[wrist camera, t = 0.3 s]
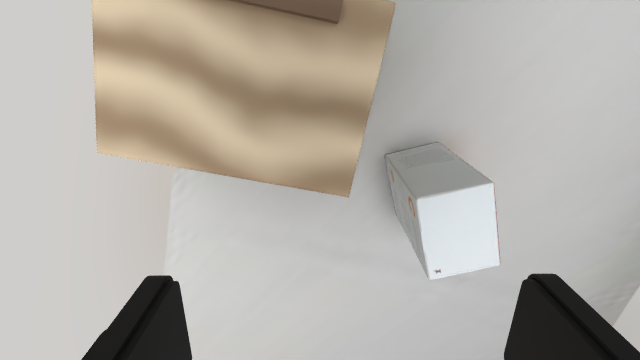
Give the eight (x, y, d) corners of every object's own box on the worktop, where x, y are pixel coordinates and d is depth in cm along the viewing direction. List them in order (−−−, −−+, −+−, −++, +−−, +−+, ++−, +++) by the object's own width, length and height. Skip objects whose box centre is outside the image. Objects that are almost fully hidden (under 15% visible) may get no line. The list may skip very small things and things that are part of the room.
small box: (447, 203, 41) (502, 267, 29) (395, 215, 42) (428, 283, 30) (439, 139, 39) (496, 181, 26) (383, 153, 39) (414, 199, 27)
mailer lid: (96, -63, 25) (64, -79, 21) (393, 4, 26) (404, -3, 23) (102, 150, 30) (78, 161, 27) (347, 193, 32) (351, 209, 29)
